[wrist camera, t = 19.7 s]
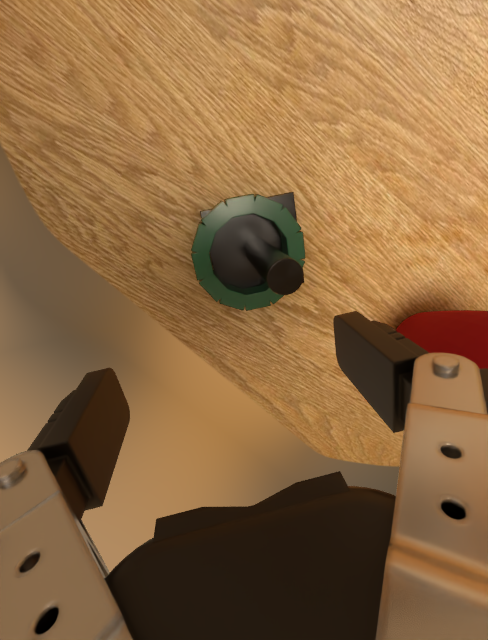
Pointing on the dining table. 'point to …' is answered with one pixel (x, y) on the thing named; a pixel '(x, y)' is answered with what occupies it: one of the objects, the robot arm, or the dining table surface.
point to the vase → (450, 333)
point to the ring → (217, 220)
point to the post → (255, 252)
